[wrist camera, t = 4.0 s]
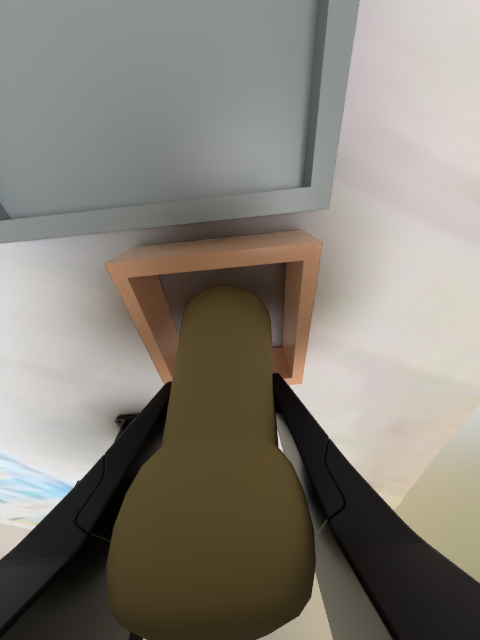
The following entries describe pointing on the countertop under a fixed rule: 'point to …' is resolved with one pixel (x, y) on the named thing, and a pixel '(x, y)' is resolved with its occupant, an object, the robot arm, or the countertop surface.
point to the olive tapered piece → (215, 494)
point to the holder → (150, 261)
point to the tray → (167, 111)
